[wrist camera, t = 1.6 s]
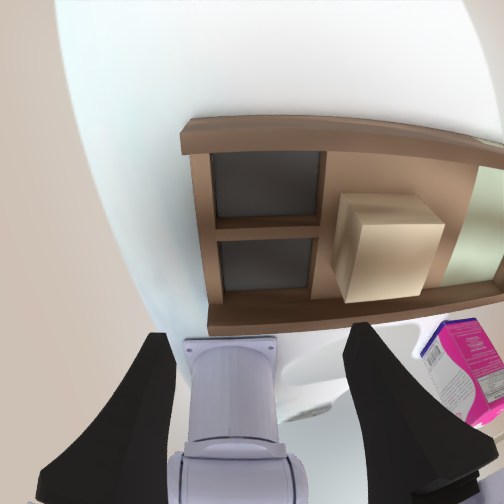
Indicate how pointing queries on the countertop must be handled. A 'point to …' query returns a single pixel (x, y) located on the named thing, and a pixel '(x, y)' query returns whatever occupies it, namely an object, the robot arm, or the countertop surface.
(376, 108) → the countertop surface
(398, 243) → the birch block
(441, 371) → the supplement box
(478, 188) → the compartment tray
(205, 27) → the countertop surface
